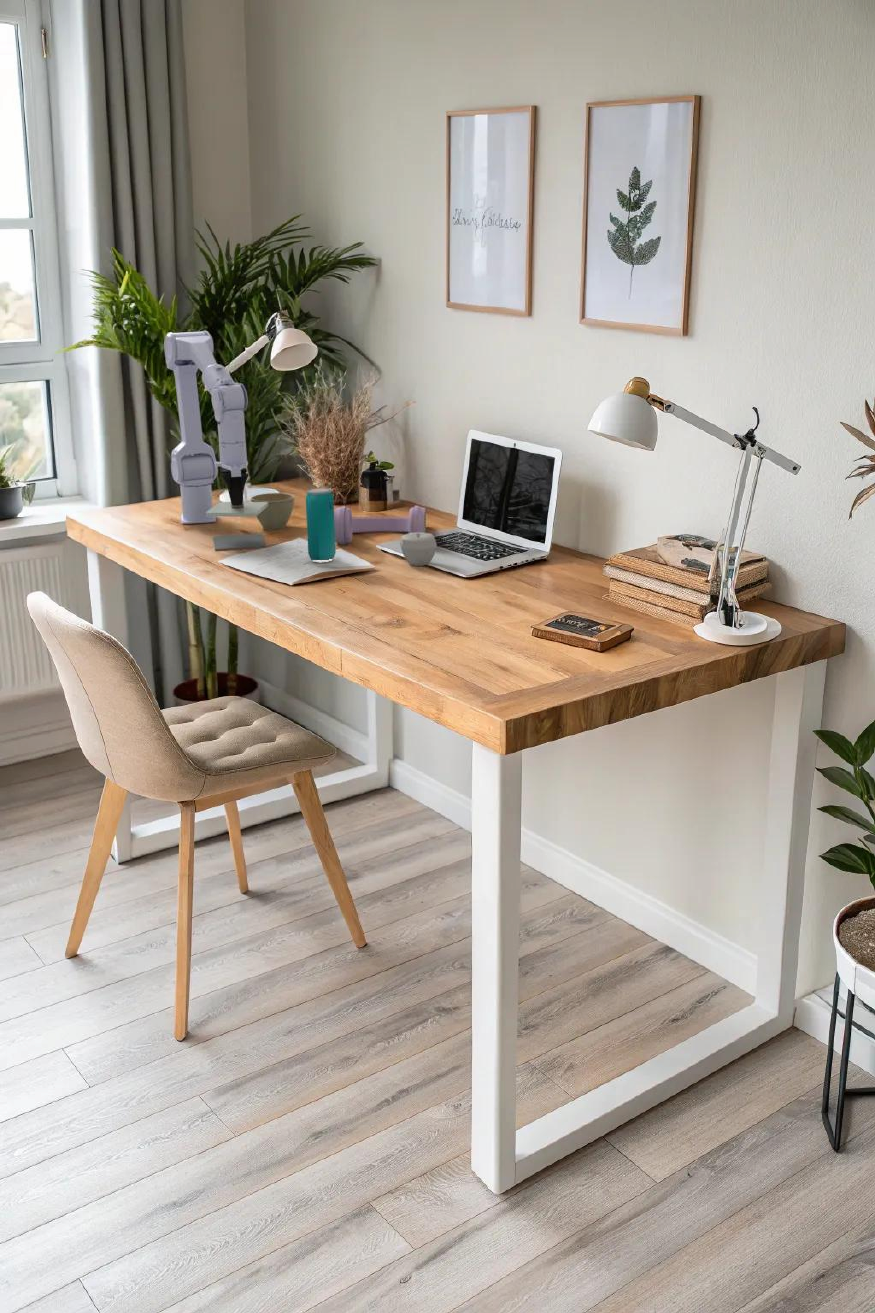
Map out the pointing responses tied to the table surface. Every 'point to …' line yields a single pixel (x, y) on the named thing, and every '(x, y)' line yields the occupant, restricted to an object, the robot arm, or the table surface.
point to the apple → (418, 548)
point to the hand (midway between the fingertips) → (236, 503)
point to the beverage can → (320, 523)
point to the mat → (239, 542)
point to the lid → (237, 509)
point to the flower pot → (275, 509)
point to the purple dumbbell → (376, 523)
